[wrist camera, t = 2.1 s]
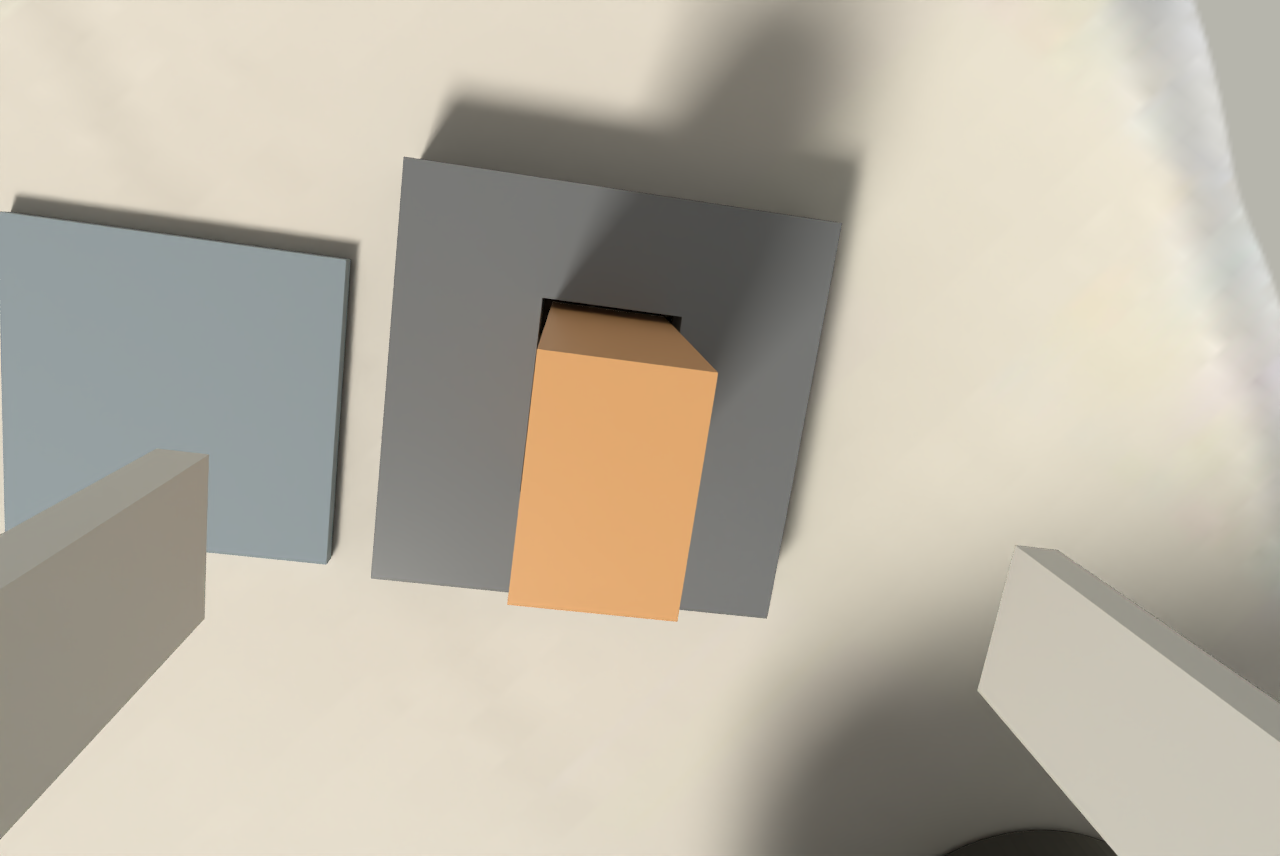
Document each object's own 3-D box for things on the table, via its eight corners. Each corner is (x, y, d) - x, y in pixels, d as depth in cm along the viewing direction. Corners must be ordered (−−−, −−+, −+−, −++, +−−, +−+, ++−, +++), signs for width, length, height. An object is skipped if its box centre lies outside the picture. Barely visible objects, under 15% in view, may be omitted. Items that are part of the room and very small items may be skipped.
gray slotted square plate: (820, 223, 30) (841, 223, 28) (753, 589, 33) (766, 618, 31) (418, 162, 29) (403, 156, 26) (386, 551, 32) (370, 578, 29)
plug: (664, 316, 30) (717, 372, 19) (640, 476, 32) (677, 621, 20) (552, 301, 30) (536, 348, 18) (533, 464, 31) (507, 604, 20)
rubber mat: (350, 259, 29) (346, 259, 29) (330, 558, 32) (326, 564, 31) (9, 212, 28) (-3, 211, 27) (15, 525, 30) (5, 531, 30)
